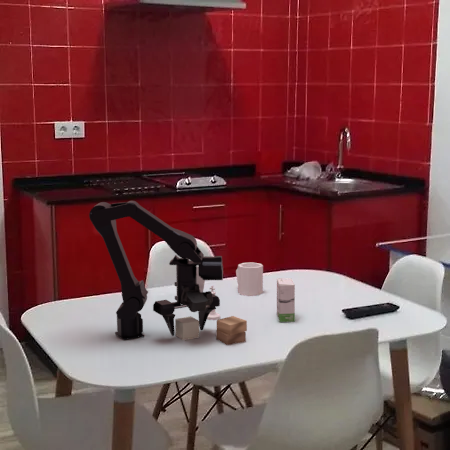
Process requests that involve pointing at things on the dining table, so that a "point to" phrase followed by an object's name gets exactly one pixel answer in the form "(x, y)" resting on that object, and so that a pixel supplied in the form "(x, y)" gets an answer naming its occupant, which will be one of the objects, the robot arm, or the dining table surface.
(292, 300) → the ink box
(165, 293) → the dining table surface
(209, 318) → the chess piece
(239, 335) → the tower base
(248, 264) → the mug
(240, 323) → the tower top
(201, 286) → the cup
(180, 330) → the cube
